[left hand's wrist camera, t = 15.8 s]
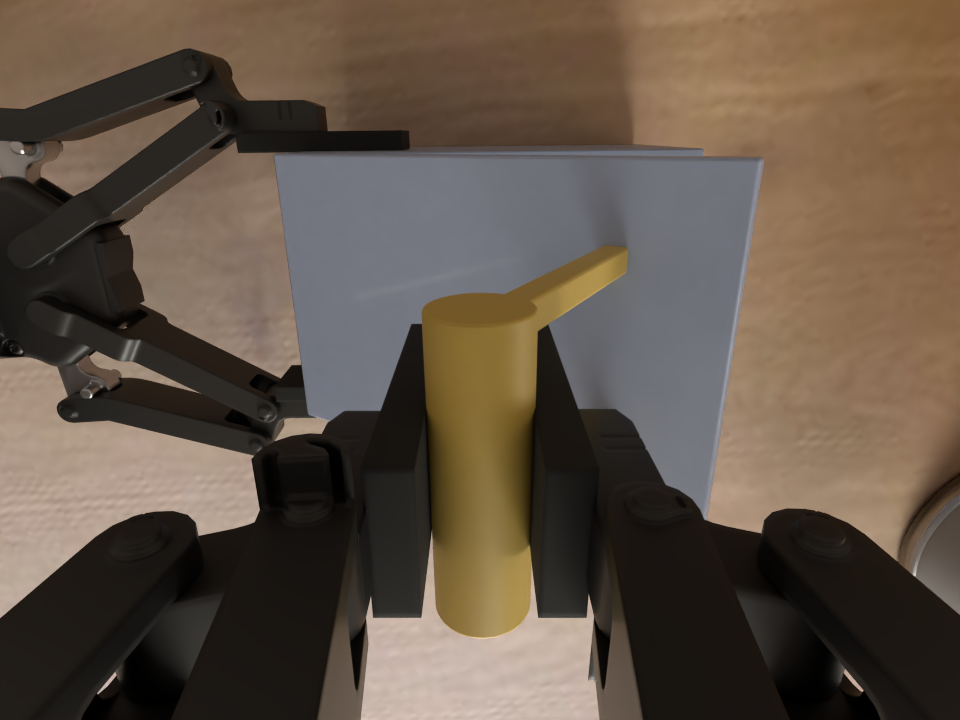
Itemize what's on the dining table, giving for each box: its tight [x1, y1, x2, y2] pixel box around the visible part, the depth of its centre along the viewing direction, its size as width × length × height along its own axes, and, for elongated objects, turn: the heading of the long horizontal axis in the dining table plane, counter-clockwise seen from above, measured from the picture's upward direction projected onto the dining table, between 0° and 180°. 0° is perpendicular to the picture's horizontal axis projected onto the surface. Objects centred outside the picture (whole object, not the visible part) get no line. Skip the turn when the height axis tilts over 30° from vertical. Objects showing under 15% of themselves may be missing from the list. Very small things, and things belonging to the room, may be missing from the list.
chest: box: [294, 144, 703, 156], centre depth 27 cm, size 15×10×10 cm
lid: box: [274, 153, 764, 638], centre depth 15 cm, size 16×10×9 cm
